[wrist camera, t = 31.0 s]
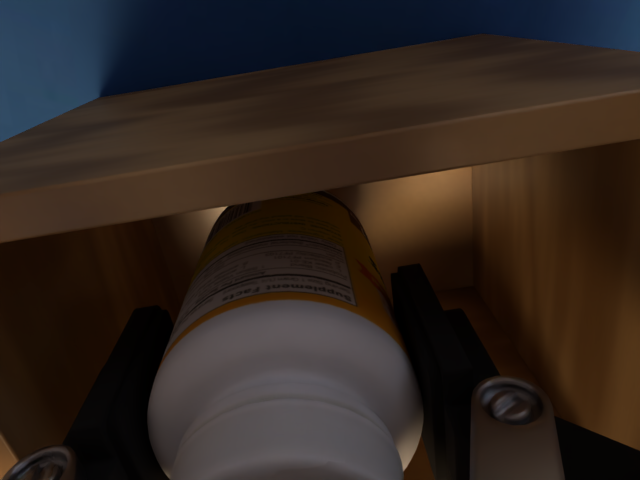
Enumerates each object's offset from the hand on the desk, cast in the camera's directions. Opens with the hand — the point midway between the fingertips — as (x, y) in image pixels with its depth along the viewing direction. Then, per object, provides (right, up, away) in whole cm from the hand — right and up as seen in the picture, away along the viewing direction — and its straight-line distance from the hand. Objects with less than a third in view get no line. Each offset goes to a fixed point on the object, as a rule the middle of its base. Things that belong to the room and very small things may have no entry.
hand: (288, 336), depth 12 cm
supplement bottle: (0, +2, +5) cm, 5 cm away
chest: (+1, +4, +8) cm, 9 cm away
